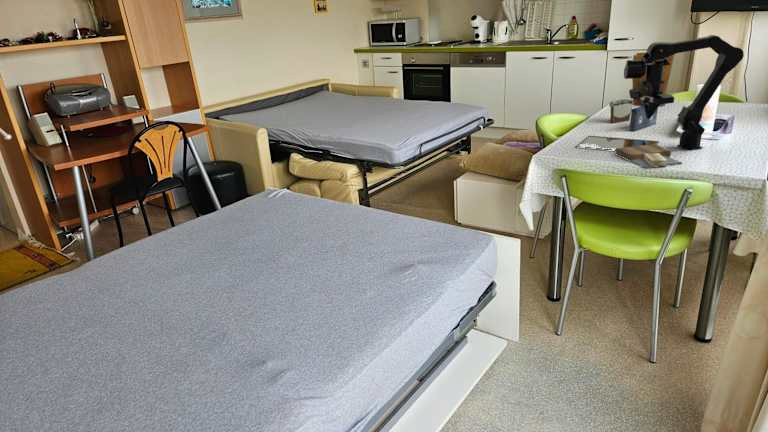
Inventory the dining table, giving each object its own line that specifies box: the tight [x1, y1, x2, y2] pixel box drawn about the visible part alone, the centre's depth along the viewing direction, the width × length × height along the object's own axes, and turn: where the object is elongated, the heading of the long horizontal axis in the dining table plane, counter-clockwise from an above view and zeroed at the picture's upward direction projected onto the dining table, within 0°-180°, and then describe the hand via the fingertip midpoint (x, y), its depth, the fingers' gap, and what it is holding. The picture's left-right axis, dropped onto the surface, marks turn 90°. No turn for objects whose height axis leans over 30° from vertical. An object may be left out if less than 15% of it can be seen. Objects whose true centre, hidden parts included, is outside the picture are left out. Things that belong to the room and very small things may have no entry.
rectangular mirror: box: [575, 135, 660, 152], centre depth 212 cm, size 19×1×28 cm
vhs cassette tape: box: [629, 106, 659, 132], centre depth 234 cm, size 18×3×10 cm, turn 124°
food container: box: [609, 98, 634, 124], centre depth 248 cm, size 12×6×10 cm, turn 108°
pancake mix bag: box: [631, 52, 676, 107], centre depth 271 cm, size 7×19×28 cm, turn 57°
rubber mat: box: [631, 156, 683, 169], centre depth 188 cm, size 14×9×1 cm, turn 99°
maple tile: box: [644, 153, 667, 167], centre depth 186 cm, size 5×9×2 cm, turn 171°
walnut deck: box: [615, 144, 672, 162], centre depth 196 cm, size 16×10×2 cm, turn 99°
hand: (648, 118), depth 201 cm, fingers closed
